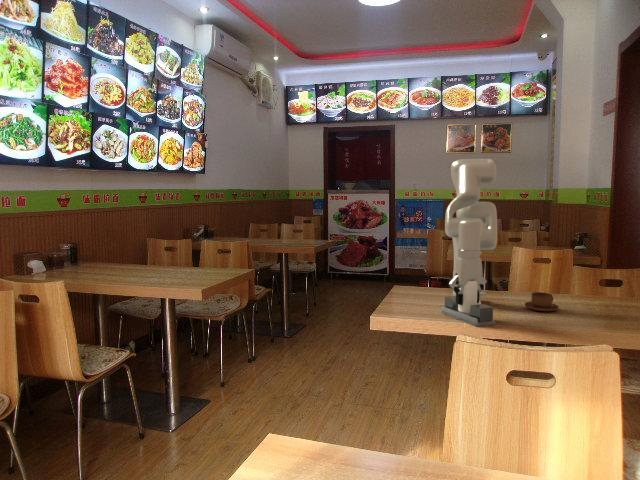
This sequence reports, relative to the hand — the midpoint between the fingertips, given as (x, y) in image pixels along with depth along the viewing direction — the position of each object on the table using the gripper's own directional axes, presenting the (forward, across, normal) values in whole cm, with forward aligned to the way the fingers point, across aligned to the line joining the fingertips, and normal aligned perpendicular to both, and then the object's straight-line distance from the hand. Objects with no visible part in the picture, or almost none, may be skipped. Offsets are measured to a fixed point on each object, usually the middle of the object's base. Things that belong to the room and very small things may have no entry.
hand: (467, 302), depth 181 cm
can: (+3, 0, 0) cm, 3 cm away
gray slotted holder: (+6, 0, 0) cm, 6 cm away
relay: (+6, -8, -7) cm, 12 cm away
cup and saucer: (+6, -36, 0) cm, 36 cm away
